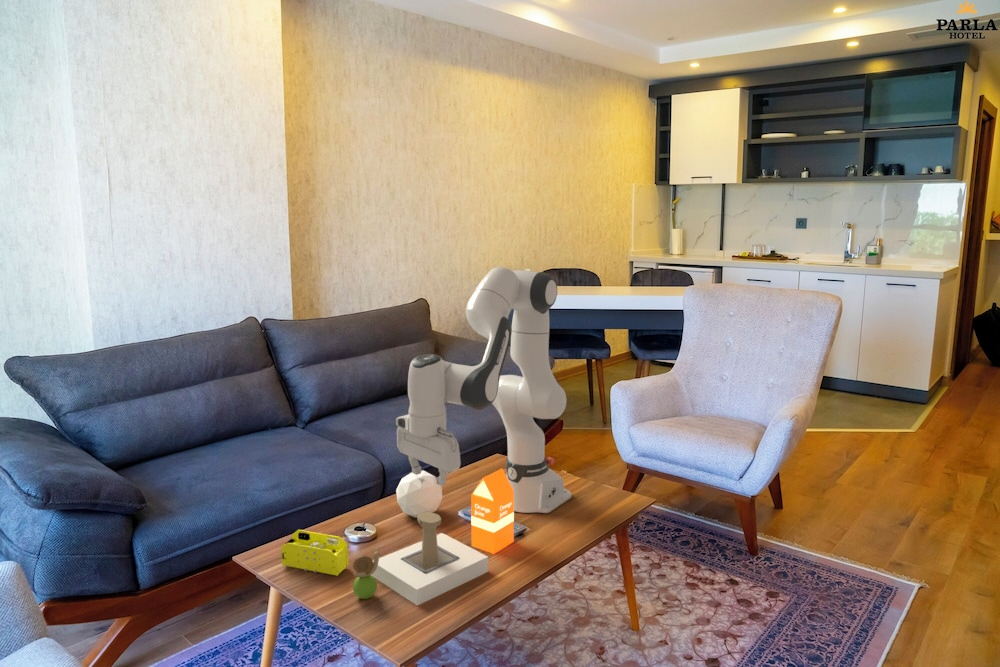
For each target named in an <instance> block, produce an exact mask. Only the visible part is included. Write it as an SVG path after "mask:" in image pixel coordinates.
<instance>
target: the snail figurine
mask: <svg viewBox="0 0 1000 667" xmlns="http://www.w3.org/2000/svg"><path fill="white" fill-rule="evenodd" d="M377 550H378V551H375V552H374V554H373V557H374V559H372V557H370V556H368V555H359V556H357V557H356V558H355V559H354V561H353V563H352V568H353V569H354V571H355V572H353V575H354V576H356V578H355V580H354V581H353V586H352V588H353V593H354V594H355V596H356V597H358V598H360V599H362V600H368V599H369V598H371V597H373V596H374V595H375V594H376V592H377V589H378V582H377V579H376V578H374V577H373V576H372V574H373V573H374V572H375V570H376V569H377V566H378V562H379V558H381V552H380V551H381V548H380V546H377ZM373 561H374V562H373Z"/></svg>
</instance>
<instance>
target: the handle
mask: <svg viewBox="0 0 1000 667" xmlns="http://www.w3.org/2000/svg"><path fill="white" fill-rule="evenodd" d="M416 520H417V523H418V524H419V526H421V527H422V536H421V538H422V540H421V541H422V564H423V567H422V568H423V569H425V570H428V569H430V568H432V567H434V566H437V565H439V564H438V547H437V535H438V534H437V527H439V526H440V525H442V518H441V516H440V515H439V514H437V513H434V512H433V513H432V512H423V513H420V514H418V515H417V519H416Z"/></svg>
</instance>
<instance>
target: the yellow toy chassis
mask: <svg viewBox="0 0 1000 667" xmlns="http://www.w3.org/2000/svg"><path fill="white" fill-rule="evenodd" d="M291 537H292V538H291V539H289V540H287V541H286V542H285V543H284V544H283V545H281V546H280V552H281V566H285V567H291V568H295V569H296V568H297V569H302V570H304V572H306V571H312V572H314V573H315V574H316V573H321V574H326V575H332V576H337V577H338V576H339V575H340V574H341V573H342V572H343V571H344V570H345V569H346V567H349V556H348V555H349V554H348V553H349V552H348V543H347V542H346V541H345V540H344V539H343V538H342V537H341V536H338V535H337V536H336V535H331V534H325V533H319V532H314V531H307V530H304V529H297V530H296V531H295V532H293V533H292V534H291Z"/></svg>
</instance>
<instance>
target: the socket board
mask: <svg viewBox="0 0 1000 667" xmlns="http://www.w3.org/2000/svg"><path fill="white" fill-rule="evenodd" d="M436 535H437V547H438V564H437V566H434V567H432V568H430V569H428V570H425V569H423V564H422V540H421V541H418V542H415V543H413V544H411V545H408V546H406V547H403V548H400V549H398V550H396V551H393V552H391V553H389V554H386V555H384V556H382V557H381V556H380V557H379V562H378V566H377V569H376V570H375V572H374V573H373V574H371V576H373V577H374V578H375V580H376V581H378V582H380V583H382V584H383V585H384V586H386V587H388V588H389V589H391V590H393V591H394V592H395V593H397V594H398V595H399V596H402V597H403V598H404V599H406V600H407V601H409V602H411V603H412V604H414V605H415V606H419V605H422V604H424V603H426V602H429V601H430V600H432V599H434V598H436V597H438V596H441V595H443V594H444V593H446V592H448V591H451V590H453V589H455V588H457V587H459V586H462V585H464V584H465V583H468V582H470V581H472V580H474V579H476V578H478V577H481V576H482V575H484V574H487V573H489V556H487V555H486V554H484V553H482V552H480V551H478V550H476V549H474V548H472V547H470V546H468V545H466V544H465V543H463V542H460V541H459V540H457V539H455V538H452V537H451V536H450V535H447V534H445V533H443V532H440V533H438V534H436ZM372 561H373V562H374V560H372Z"/></svg>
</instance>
